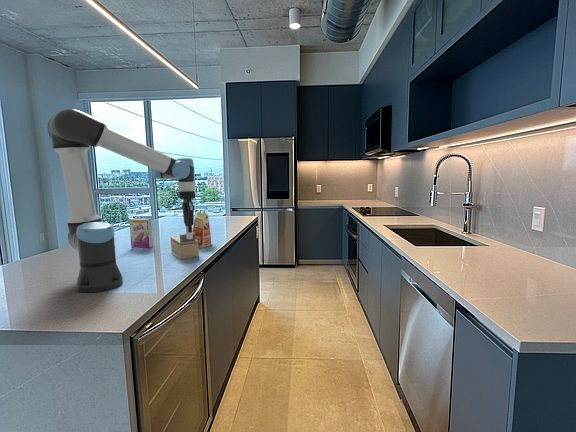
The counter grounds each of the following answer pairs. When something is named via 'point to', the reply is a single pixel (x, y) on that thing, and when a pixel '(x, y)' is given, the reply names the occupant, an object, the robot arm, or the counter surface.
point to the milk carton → (202, 229)
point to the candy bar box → (141, 233)
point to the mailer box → (184, 250)
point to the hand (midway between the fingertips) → (189, 238)
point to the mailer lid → (184, 239)
